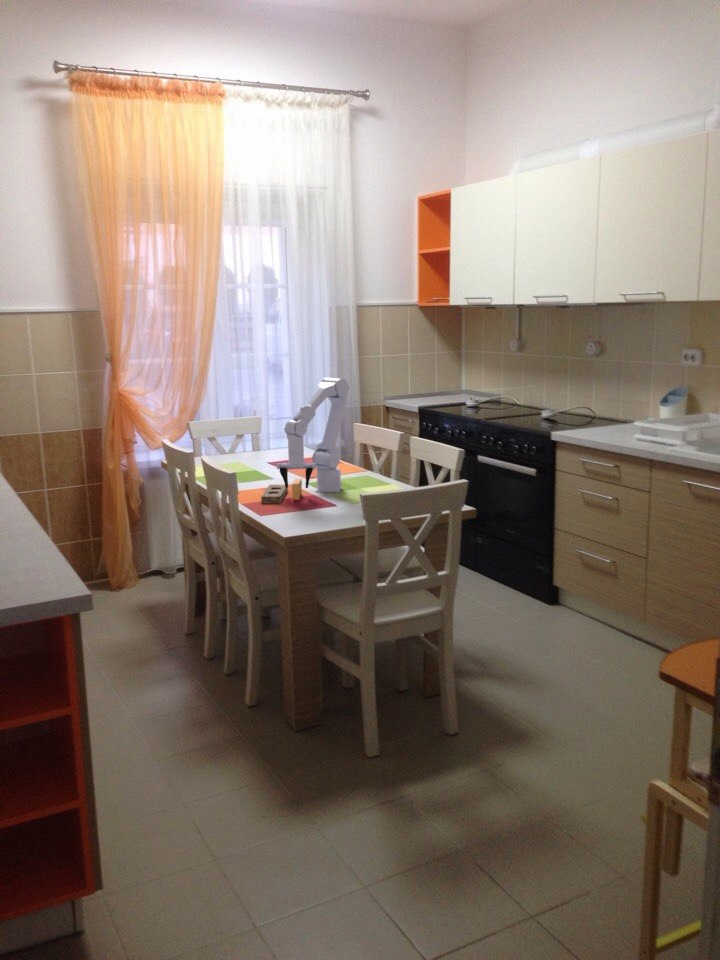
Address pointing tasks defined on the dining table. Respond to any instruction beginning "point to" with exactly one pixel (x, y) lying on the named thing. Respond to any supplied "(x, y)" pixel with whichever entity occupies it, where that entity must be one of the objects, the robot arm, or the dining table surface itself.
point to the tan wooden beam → (297, 489)
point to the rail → (274, 494)
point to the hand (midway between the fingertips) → (296, 487)
